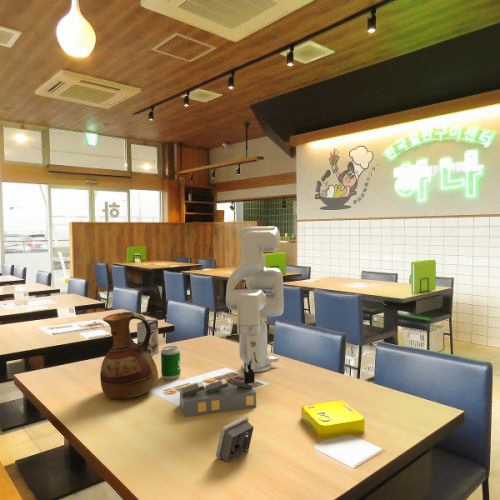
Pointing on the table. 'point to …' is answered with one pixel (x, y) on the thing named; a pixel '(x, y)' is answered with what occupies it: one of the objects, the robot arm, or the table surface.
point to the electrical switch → (234, 439)
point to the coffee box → (153, 341)
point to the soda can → (170, 362)
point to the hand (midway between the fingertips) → (249, 382)
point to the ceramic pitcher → (127, 360)
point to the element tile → (332, 419)
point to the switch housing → (217, 400)
